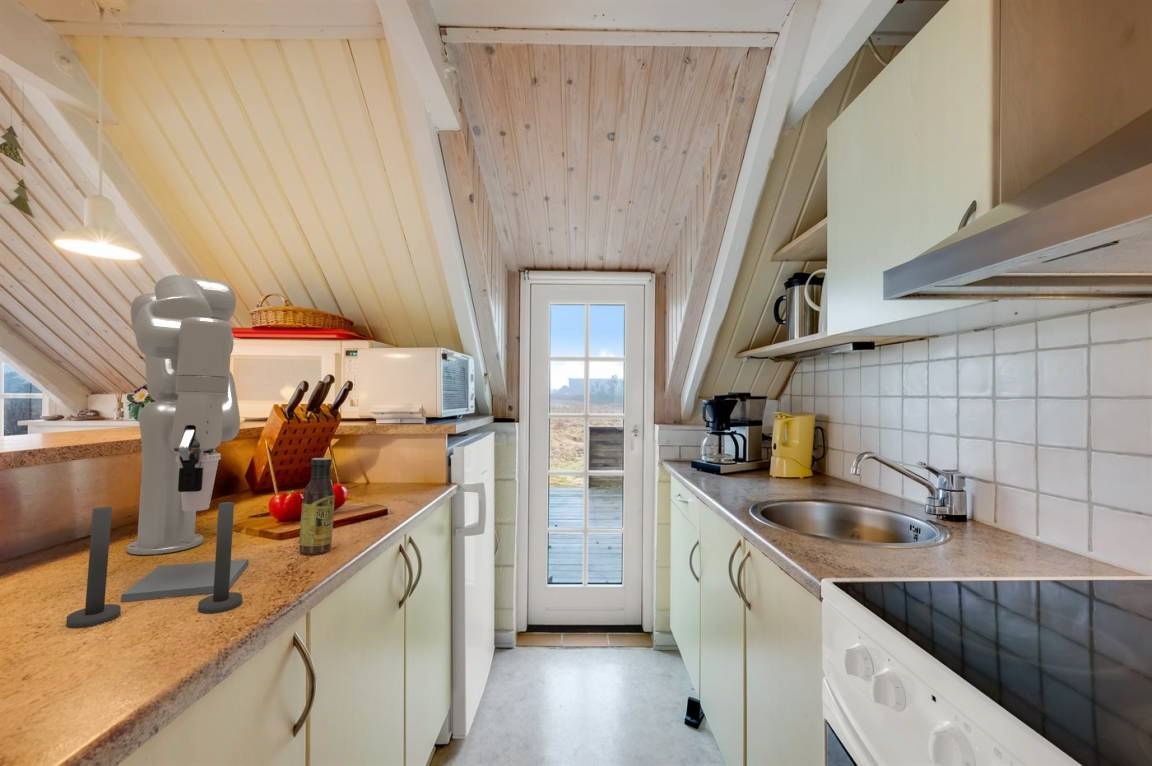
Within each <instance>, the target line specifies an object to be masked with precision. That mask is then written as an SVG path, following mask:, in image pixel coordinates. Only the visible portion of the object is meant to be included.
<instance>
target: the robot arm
mask: <svg viewBox="0 0 1152 766" xmlns="http://www.w3.org/2000/svg"><path fill="white" fill-rule="evenodd" d="M236 306H237V296H236V293H235V292H234V289H233V287H231V286H230V285H229V284H228V283H226V282H222V281H220V280H219V281H218V280H215V279H214V280H213V279H206V278H202V277H201V278H200V277H194V276H188V275H182V274H172V275H167V276H164V277H162V278H160V279H159V280H158V281H157V282H156V285H155V286H154V292H148V293H143V294H139V295H137V296H136V297H134V299H133V301H132V302H131V307H130V318H131V319H130V320H131V326H132V330H133V333H134V336H135V341H136V345H137V348H138V350H139V351H140V353H141V354H143V355H144V356H145V357H144V359H145V375H146V377H145V378H146V379H145V380H146V388H147V389H146V390H147V393H148V395H149V397H150V398H151V399H152V400H153V401H151V402H149V403H147V404H145V405H144V406H143V407H142V408H141V410H140V413H139V419H138V424H139V431H140V439H141V440H140V441H141V451H142V452H141V455H142V457H141V477H140V489H139V490H140V493H139V507H138V508H139V511H138V522H137V523H138V526H137V539H136V540H135V541H132V542H130V543H129V544H127V545H126V552H127V553H128V554H132V555H139V556H141V555H142V556H143V555H149V556H151V555H161V554H170V553H175V552H180V551H184V550H188V549H191V548H194V547H197V546H199V545H201V544H202V543H203V542H204V536H203V535H201V534H199V533H196V523H197V522H196V520H197V518H196V517H197V511H183V509H182V498H181V492H196V491H200V490H202V478H203V468H200V467H201V462H202V457H203V452H211V453H217V448H218V447H219V446H220V445H221V443H223V442H229V441H232V440H233V439H235V438H236V437H237V436H238V434H239V432H240V428H241V417H240V409H239V403H238V396H237V389H236V385H235V384H236V383H235V378H234V375H233V374H232V372H231V371H230V370H231V354H232V353H233V350H234V344H235V343H234V336H233V334H232V333H233V331H232V330H233V329H232V326H231V324H230V323H229V321H230V320H231V318H232V317H233V316H234V313H235V310H236V308H237V307H236ZM196 448H199V449H196ZM179 454H180V457H179V459H180V463H179V468H178V462H177V461H175V460H176V456H177V455H179ZM194 454H197V457H196V458H195V455H194ZM215 483H216V480H215V481H214V484H215Z"/></svg>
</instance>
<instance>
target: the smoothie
mask: <svg viewBox="0 0 1152 766" xmlns="http://www.w3.org/2000/svg"><path fill="white" fill-rule="evenodd" d="M196 449H199V448H196ZM194 455H195V458H196V457H197V454H194ZM179 457H180V454H179V455H177V456H176V460H175V461H177V462H178V468H179V463H180V459H179ZM221 457H222V456H221V453H219V452H216V453H211V452H203V457H202V462H201V467H200V468H203V478H202V490H200V491H196V492H181V498H182V509H183V511H196V512H198V511H199V512H200V511H204V510H205V511H206V510H209V508H210V506H211V505H210V504H211V499H212V495H213V489H214V486H215V485H214V484H215V483H214V481H215V482H216V474H217V470H218V466H219V460H222V458H221Z"/></svg>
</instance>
